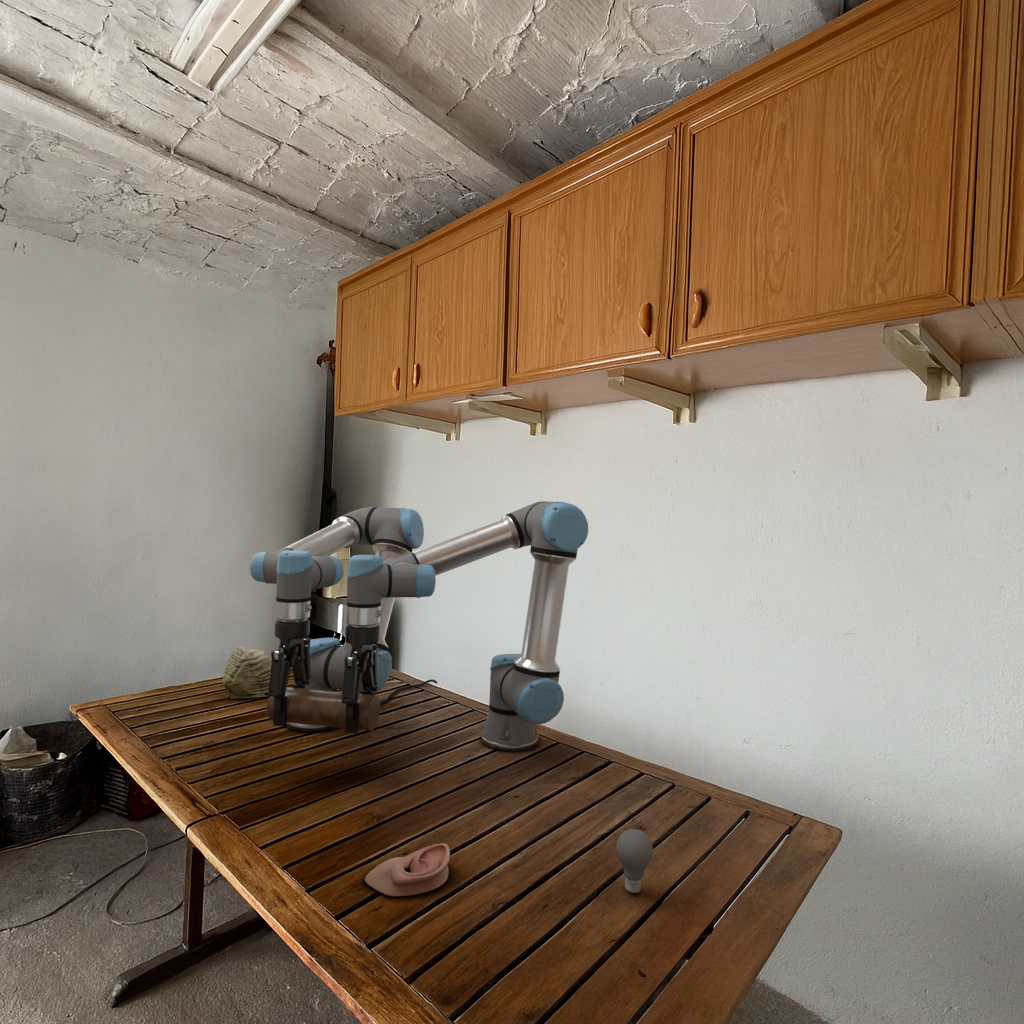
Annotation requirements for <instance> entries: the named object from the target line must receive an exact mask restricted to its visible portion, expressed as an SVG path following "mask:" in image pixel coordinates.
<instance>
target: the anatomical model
mask: <svg viewBox="0 0 1024 1024" xmlns="http://www.w3.org/2000/svg"><path fill="white" fill-rule="evenodd" d="M450 858H451V849H450V847H449V845H448V844H447V843H444V842H442V843H435V844H431V845H429V846H426V847H423V848H420V849H418V850H416V851H414V852H412V853H409V854H407V855H405V856H397V857H392V858H389V859H387V860H385V861H383V862H381V863H380V864H378V865H376V866H375V867H374V868H373V869H371V870H370V871H369V872H368V873H367V874H366V876H365V878H364V881H365V884H367V886H369V887H370V888H372V889H373V890H375V891H377V892H379V893H381V894H384V895H386V896H388V897H406V896H413V895H419V894H424V893H427V892H430V891H433V890H435V889H437V888H440V887H441V886H442V885H444V884H445V883H446V882H447V880H448V878H449V866H448V865H449V862H450Z"/></svg>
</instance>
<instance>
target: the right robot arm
mask: <svg viewBox="0 0 1024 1024" xmlns="http://www.w3.org/2000/svg"><path fill="white" fill-rule="evenodd" d="M588 535H589V523H588V519H587V517H586V515H585V514H584V512H583V511H582V509H581V508H580V507H578V506H576V504H573V503H570V502H565V501H545V500H544V501H543V500H542V501H541V500H540V501H537V502H533V503H530V504H528V505H526V506H524V507H521V508H519V509H517V510H514V511H512V512H509V513H507V514H503V515H502V517H501V519H500V520H499V521H495V522H493V523H490V524H488V525H484V526H482V527H480V528H476V529H473V530H471V531H468V532H465V533H462V534H459V535H457V536H454V537H451V538H449V539H446V540H443V541H440V542H437V543H435V544H432V545H429V546H427V547H423V548H421V549H419V550H416V551H412V553H411V554H407V555H405V556H402V557H393V558H389V559H387V560H386V561H385V562H384V563H383V559H382V557H381V556H377V555H375V554H355V555H351V556H350V558H349V560H348V568H347V574H346V577H347V578H346V604H345V605H346V606H345V623H346V624H347V625H346V626H345V633H344V641H345V642H347V643H348V644H351V645H352V649H351V653H350V657H345V659H344V662H345V670H344V681H343V690H341V692H342V703H343V704H346V721H345V728H344V733H345V734H354V735H358V733H359V730H358V726H359V703H357V702H358V696H359V691H360V685H361V680H362V686H363V690H365V691H361V694H367V695H374V694H373V692H372V691H377V690H378V687H375V686H377V684H378V680H377V651H378V645H375V643H378V642H379V640H380V626H379V625H378V624H379V623H380V615H382V613H383V612H382V611H380V610H381V598H389V597H395V598H417V599H420V598H429V597H431V596H433V595H434V593H435V589H436V582H437V581H436V580H437V579H436V576H439V575H441V574H444V573H446V572H450V571H452V570H454V569H457V568H459V567H460V568H461V567H462V566H465V565H467V564H470V563H471V564H472V563H473V562H476V561H479V560H481V559H483V558H486V557H489V556H492V555H495V554H497V553H499V552H503V551H505V550H507V549H510V548H511V549H513V550H518V549H522V548H525V547H528V546H530V550H529V553H530V554H531V556H532V557H533V559H534V564H533V571H532V579H531V586H530V591H529V598H528V599H529V600H528V607H527V612H526V619H525V627H524V633H523V638H522V639H523V640H522V645H521V653H503V654H502V653H501V654H496V655H494V656H493V657H492V659H491V664H490V667H489V670H490V677H489V702H488V703H489V704H488V705H489V707H488V713H487V715H486V718H485V721H484V725H483V727H482V729H481V732H480V733H481V734H480V740H481V743H482V744H483V745H484V746H486V747H488V748H491V749H494V750H499V751H504V752H505V751H506V752H520V751H526V750H530V749H532V748H534V747H536V746H537V745H538V743H539V733H538V730H537V729H538V728H537V725H543V724H546V723H549V722H550V721H552V720H554V718H556V717H557V715H559V713H560V711H562V708H563V705H564V702H565V693H564V690H563V688H562V686H561V684H560V683H559V682H560V675H561V667H560V666H559V664H558V663H557V661H556V660H557V659H556V658H557V651H558V644H559V636H560V630H561V623H562V616H563V610H564V604H565V603H564V602H565V597H566V590H567V582H568V577H569V576H568V575H569V567H570V565H571V564H572V563H574V562H575V561H576V560H577V557H578V550H579V549H580V548H581V547H582V546H583V545H584V544H585V542H586V541H587V538H588Z"/></svg>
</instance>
